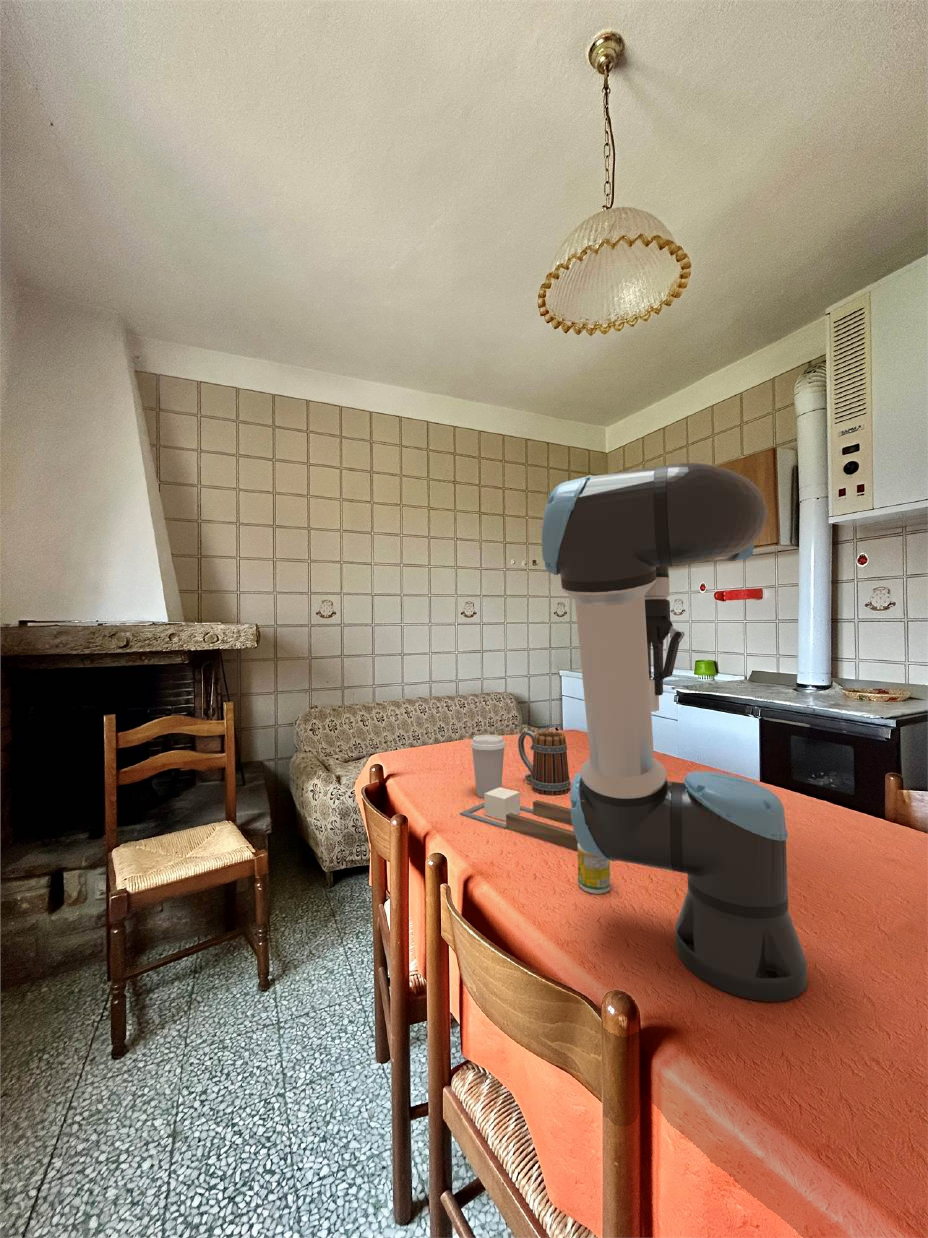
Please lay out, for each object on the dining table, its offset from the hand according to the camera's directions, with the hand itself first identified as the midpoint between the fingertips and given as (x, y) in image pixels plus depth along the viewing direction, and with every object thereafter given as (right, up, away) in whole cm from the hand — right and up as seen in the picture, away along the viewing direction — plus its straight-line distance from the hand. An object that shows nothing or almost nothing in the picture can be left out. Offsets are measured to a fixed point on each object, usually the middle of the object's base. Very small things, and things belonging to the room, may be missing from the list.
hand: (653, 710), depth 104 cm
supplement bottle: (-18, -26, -20) cm, 38 cm away
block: (-31, -27, +13) cm, 43 cm away
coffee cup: (-33, -28, +27) cm, 51 cm away
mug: (-18, -28, +32) cm, 46 cm away
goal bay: (-31, -27, +13) cm, 43 cm away
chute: (-18, -27, +2) cm, 32 cm away
